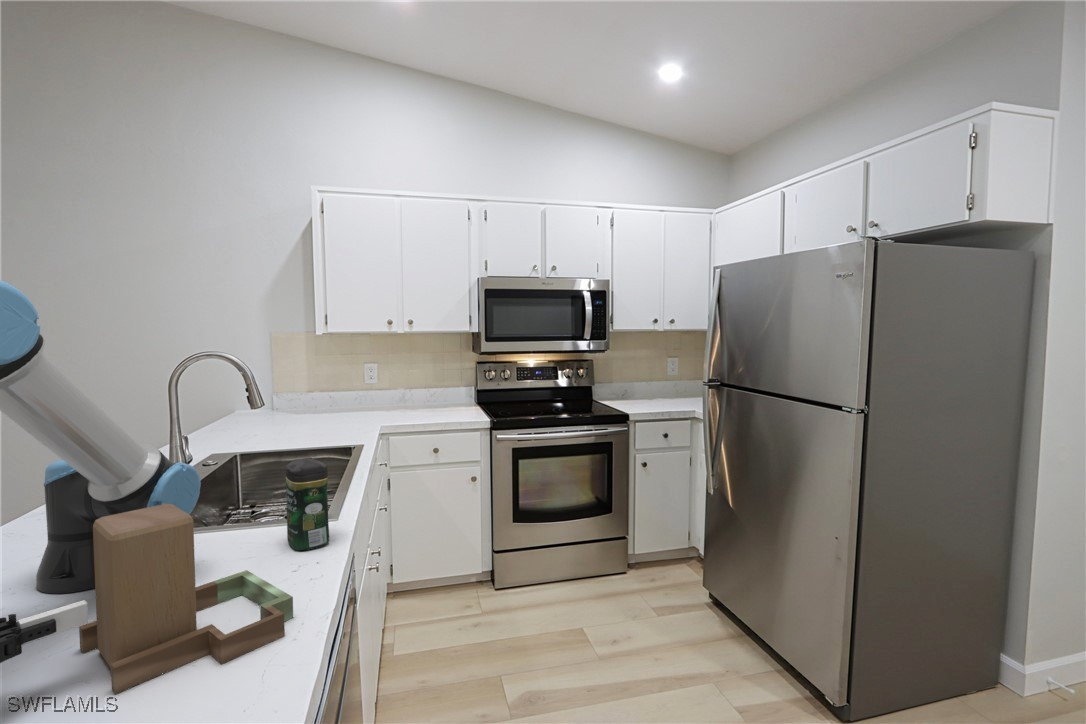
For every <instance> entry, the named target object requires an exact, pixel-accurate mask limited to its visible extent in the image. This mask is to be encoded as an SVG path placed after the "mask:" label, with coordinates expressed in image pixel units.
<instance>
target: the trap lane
mask: <svg viewBox="0 0 1086 724" xmlns="http://www.w3.org/2000/svg"><path fill="white" fill-rule="evenodd" d="M195 591H196V613H197V612H199V611H201V610H204V609H207V608H210V607H213V606H215V605H218V604H221V603H223V602H226V601H229V600H231V599H235V598H236V597H241V596H243V597H245V598H247V599H249V600H250V601H252V602H254V603H255V604H256V605H257V606H259V607H260V608H259V609H260V611H259V612H260V613H259V614H260V615H259V616H260V620H259V619H258V620H257V621H255V622H252V623H251V624H248V625H245V626H242V627H240V628H238V629H236V630H233V631H231V632H228V633H226V634H225V633H224V632H223V631H221V630H220V629H219V628H217V627H216V626H215V625H214V624H212V623H210V624H208V625H206V626H204V627H201V628H197V630H195V631H193V632H190V633H188V634H185V635H183V636H180V637H178V638H175V639H173V640H170V641H167V642H165V643H162V644H160V645H157V646H155V647H152V648H150V649H147V650H145V651H142V652H139V653H137V654H134V655H132V656H129V657H127V658H124V659H122V660H119V661H117V662H114V663H112V664H111V668H110V678H111V679H110V681H111V682H110V683H111V684H110V685H111V691H112V692H113V694H114V695H117V694H118V695H119V694H120V693H122V691H123V692H125V691H126V689H127V690H129V689H132V688H133V687H132V686H134V687H136V686H138V685H137V684H139V683H141V684H143V683H145V682H144V681H146V682H147V680H148V681H150V680H152V679H151V678H153V679H154V677H155V678H157V677H159V676H158V675H160V674H162V673H164V672H166V673H168V672H167V671H169V672H171V671H173V670H176V669H177V668H181V667H183V666H185V665H187V664H189V663H191V662H194V661H196V660H199V659H201V658H204V657H205V656H209V655H210V656H211V657H212V658H213V659H214V660H215V661H217V662H218V663H219V664H220V665H223V664H226V663H228V662H230V661H232V660H234V659H237V658H238V657H239V658H240V657H241V656H243V655H245V654H248V653H249V652H252V651H254V650H256V649H259V648H260V647H263V646H265V645H267V644H269V643H271V642H274V641H276V640H278V639H281V638H282V637H283V638H284V637H285V633H286V632H285V630H286V629H285V622H286V621H289V620H291V619H293V618H294V597H293V595H290V594H289V593H287V592H285V591H284V590H282V589H280V588H279V587H276V586H275V585H274V584H271V583H269V582H268V581H267V580H264V579H263V578H261V577H259V576H258V575H256V574H254V573H253V572H251V571H249V570H247V569H246V570H243V571H240V572H238V573H237V572H236V573H234V574H231V575H228V576H225V577H222V578H219V579H216V580H212V581H211V582H208V583H204V584H201V585H199V586H195ZM78 630H79V633H78V634H79V650H80V651H81V653H82V654H86V653H88V652H90V650H91V651H94V650H96V649H98V641H97V620H94V621H92V622H88V623H87V624H84V625H81V626H78ZM95 648H96V649H95ZM93 649H94V650H93ZM182 665H183V666H182ZM175 668H176V669H175ZM170 670H171V671H170ZM164 674H165V673H164ZM162 675H163V674H162ZM156 676H157V677H156ZM160 676H161V675H160ZM149 679H150V680H149ZM142 682H143V683H142ZM135 685H136V686H135ZM139 685H140V684H139ZM131 687H132V688H131ZM128 688H129V689H128ZM124 690H125V691H124Z"/></svg>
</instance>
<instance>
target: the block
mask: <svg viewBox="0 0 1086 724" xmlns="http://www.w3.org/2000/svg"><path fill="white" fill-rule="evenodd" d="M194 528H195V527H194V519H193V517H192V515H190V514H187V513H186V512H184V511H182V510H181V509H179V508H178V507H176V506H174V505H173V504H163V505H158V506H153V507H148V508H143V509H138V510H133V511H129V512H124V513H119V514H114V515H109V516H104V517H101V518H99V519H97V520H95V522H94V524H93V543H94V567H95V588H94V590H95V591H94V592H95V609H96V610H95V611H96V621H97V641H98V648H97V650H98V651H99V653H100V655H101V656H102V657H103V659H104V660H105V662H106V664H107V665H108V667H109V668H110V669H111V664H112V663H114V662H117V661H119V660H122V659H124V658H127V657H129V656H132V655H134V654H137V653H139V652H142V651H145V650H147V649H150V648H152V647H155V646H157V645H160V644H162V643H165V642H167V641H170V640H173V639H175V638H178V637H180V636H183V635H185V634H188V633H190V632H193V631H195V630H198V626H197V612H196V591H195V587H196V565H195V562H196V561H195V535H194V534H195V532H194V531H195V530H194Z"/></svg>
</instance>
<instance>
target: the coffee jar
mask: <svg viewBox="0 0 1086 724" xmlns="http://www.w3.org/2000/svg"><path fill="white" fill-rule="evenodd" d="M328 479H329V473H328V467H327V465H326V464H325V463H323V462H322V461H320V460H317V459H314V458H312V457H303V458H295V459H292V460H291V461H290V462H289V463H287V465H286V466H285V488H286V489H285V490H286V492H285V493H286V496H285V498H286V517H287V518H286V522H287V523H286V524H287V525H286V529H287V531H286V534H287V536H286V537H287V542H288V544H289V546H291V547H292V548H293V549H294V550H296V551H303V550H304V551H307V550H309V551H310V549H311V550H315V549H314V548H316V549H319V548H320V547H323V546H325V545H327V544H328V542H329V541H330V527H329V505H328V502H329V501H328V482H329V480H328ZM318 547H319V548H318Z"/></svg>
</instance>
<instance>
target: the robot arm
mask: <svg viewBox="0 0 1086 724" xmlns="http://www.w3.org/2000/svg"><path fill="white" fill-rule="evenodd" d="M39 319H40V315H39V314H38V311H37V309H36V307H35V305H34V304H33V303H32V301H31V300H30V299H29V297H27V296H26V295H25V294H24V293H23V292H22V291H21V290H19V289H18V288H16V287H15V286H13V285H11V284H10V283H7V282H6V281H3V280H1V279H0V412H1V413H2V414H4V415H5V416H6V417H8V418H9V419H10V420H11V421H13V422H14V423H15V424H16V425H17V426H19V427H20V428H21V429H22V430H24V431H25V432H27V433H28V434H30V436H32V438H34V439H36V440H37V441H38V442H39V443H40V444H42V445H43V446H44V447H46V448H47V449H48V450H50V452H52V453H53V454H55V456H57V457H58V458H60V459H58V460H55V461H53V462H51V463H50V464H48V465H47V466H46V468H45V471H44V482H43V487H44V500H45V501H44V502H45V515H46V517H45V518H46V532H47V533H46V534H47V545H46V547H45V549H44V553H43V554H42V558H41V560H40V563H39V567H38V569H37V571H36V575H35V581H36V589H37V590H38V591H39V592H40V593H45V594H68V593H75V592H76V593H77V592H81V591H88V590H91V589H95V567H94V543H93V524H94V522H95V520H97V519H99V518H101V517H104V516H109V515H114V514H119V513H124V512H129V511H133V510H138V509H143V508H148V507H153V506H158V505H163V504H173V505H174V506H176V507H178V508H179V509H181V510H182V511H184V512H186V513H187V514H189V515H190V514H191V513H192V512H193V510H194V508H195V507H196V505H197V502H198V500H199V498H200V493H201V491H200V490H201V477H200V473H199V472H198V470H197V469H196V468H195V467H194V466H193V465H191V464H188V463H186V462H181V461H180V462H179V461H178V462H173V461H171V460H170V459H169V458H168V457H166V456H165V454H164V453H162V451H161V450H160V449H159V448H157V447H156V446H154V445H153V444H149V443H139V444H138V442H136V440H135V439H134V438H133V437H132V436H130V435H129V434H128V433H127V432H126V431H125V430H124V429H123V428H121V426H120V425H118V423H116V422H115V421H114V420H113V418H111V417H110V416H109V415H108V414H107V413H106V412H105V411H104V410H103V409H101V407H100V406H98V405H97V403H96V402H94V400H92V399H91V398H90V397H89V396H88V395H87V394H86V393H85V392H84V391H82V390H81V388H79V387H78V386H77V385H76V384H75V383H74V382H73V381H72V380H71V379H70V378H69V377H68V376H66V374H64V372H63V371H62V370H61V369H59V368H58V367H57V365H55V364H54V363H53V362H52V361H51V360H50V359H49V358H48V357H47V356H46V355H44V353H43V351H44V348H45V343H46V339H45V338H44V337H43V335H41V334H40V333H41V326H40V325H39V324H38V320H39ZM88 609H89V607H88V602H87V601H86V600H85V599H83V600H80V601H77V602H73V603H70V604H67V605H62V606H61V607H58V608H53V609H50V610H48V611H43V612H41V613H37V614H33V615H31V616H27V617H24V618H21V619H18V620H17V614H15V613H12V614H8V615H7V617H8V620H7V617H0V663H3V662H5V661H7V660H8V661H9V660H10V659H13V658H15V657H18V656H19V655H21V654H22V653H23V647H22V646H23V645H26V644H30V643H32V642H36V641H38V640H42V639H44V638H47V637H51V636H53V635H54V636H55V635H56V634H60V633H63V632H65V631H68V630H71V629H74V628H77V627H78V628H79V626H82V625H85V624H88V623H89V614H88V613H89V612H88V611H89V610H88Z"/></svg>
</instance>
